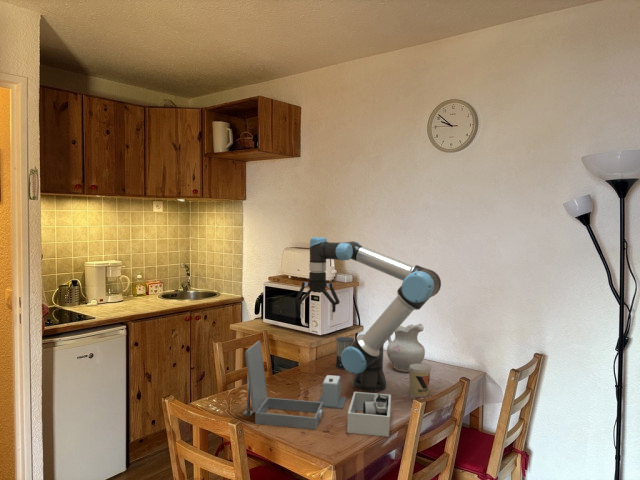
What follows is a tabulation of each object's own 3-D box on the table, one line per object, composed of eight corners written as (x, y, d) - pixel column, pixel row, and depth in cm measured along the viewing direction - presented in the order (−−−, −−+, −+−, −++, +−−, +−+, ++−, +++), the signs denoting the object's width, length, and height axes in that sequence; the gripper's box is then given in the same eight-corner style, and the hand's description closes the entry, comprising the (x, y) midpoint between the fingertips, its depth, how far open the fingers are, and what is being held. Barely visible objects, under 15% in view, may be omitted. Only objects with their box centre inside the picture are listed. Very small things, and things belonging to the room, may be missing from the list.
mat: (346, 399, 199) (346, 397, 199) (342, 409, 188) (342, 407, 188) (320, 396, 201) (320, 395, 201) (315, 406, 190) (315, 405, 190)
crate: (390, 412, 186) (391, 394, 186) (388, 436, 165) (389, 417, 165) (353, 408, 189) (354, 391, 189) (347, 432, 168) (347, 413, 167)
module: (340, 397, 199) (340, 373, 199) (336, 406, 189) (337, 381, 189) (326, 396, 200) (326, 372, 200) (322, 405, 190) (322, 380, 190)
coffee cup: (417, 399, 201) (418, 371, 200) (403, 391, 209) (404, 365, 209) (434, 395, 205) (435, 368, 205) (420, 388, 214) (421, 362, 213)
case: (324, 412, 185) (324, 402, 185) (317, 429, 170) (317, 418, 169) (267, 407, 189) (267, 397, 189) (255, 423, 174) (255, 412, 173)
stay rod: (254, 412, 184) (255, 350, 183) (251, 416, 180) (252, 353, 179) (245, 411, 184) (246, 349, 183) (242, 415, 181) (243, 352, 180)
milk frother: (333, 368, 240) (334, 339, 239) (339, 360, 255) (340, 332, 254) (361, 371, 236) (362, 342, 236) (366, 362, 252) (366, 334, 251)
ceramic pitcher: (377, 372, 239) (377, 324, 236) (387, 359, 257) (387, 314, 254) (420, 378, 231) (421, 329, 228) (427, 364, 248) (428, 318, 246)
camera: (361, 412, 186) (362, 387, 186) (384, 412, 186) (385, 387, 186) (364, 429, 171) (365, 402, 170) (389, 430, 171) (390, 402, 170)
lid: (260, 340, 188) (256, 340, 189) (247, 351, 173) (243, 351, 173) (267, 396, 189) (264, 396, 189) (255, 412, 173) (251, 412, 174)
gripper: (346, 271, 214) (345, 318, 215) (292, 269, 218) (291, 315, 219) (344, 273, 206) (343, 321, 207) (288, 271, 211) (287, 318, 211)
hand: (316, 318), depth 213 cm, fingers open, 13 cm apart
